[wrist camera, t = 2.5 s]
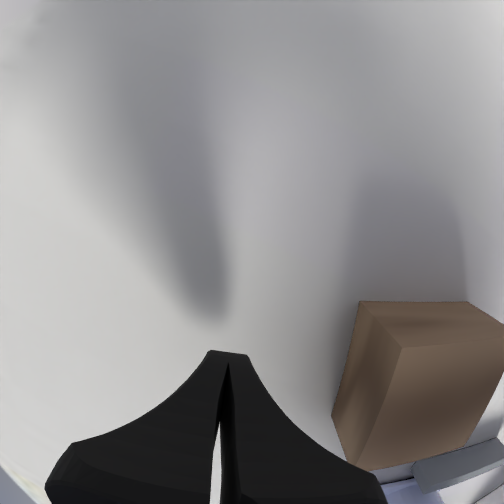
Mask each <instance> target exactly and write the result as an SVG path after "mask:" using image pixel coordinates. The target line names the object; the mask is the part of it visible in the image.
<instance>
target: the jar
mask: <svg viewBox="0 0 504 504" xmlns="http://www.w3.org/2000/svg"><path fill="white" fill-rule="evenodd" d="M503 503H504V484H503V485H501V486H500V487H498V488H497V489H496V490H494V491H493V492H491V493H490V494H488V495H487V496H485V497H484V498H482V499H480V500H479V501H477V502H476V503H475V504H503Z"/></svg>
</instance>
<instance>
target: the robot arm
mask: <svg viewBox="0 0 504 504" xmlns="http://www.w3.org/2000/svg"><path fill="white" fill-rule="evenodd" d="M219 423H220V442H221V469H222V477H221V495H220V504H444V502H443V500H442V498H441V496H440V495H439V493H438V492H439V491H440V490H437V491H434V492H431V493H427V494H424V495H423V493H422V491H421V489H420V487H419V485H418V483H417V482H416V480H415V478H413V479H409V480H404V481H400V482H395V483H389V484H384V485H380V484H379V482H378V480H377V478H376V476H375V475H374V474H372V473H369V472H367V471H365V470H363V469H361V468H359V467H356V466H354V465H352V464H350V463H348V462H346V461H344V460H342V459H341V458H339V457H338V456H336V455H334V454H333V453H331V452H329V451H328V450H326V449H325V448H323V447H322V446H321V445H319V444H318V443H316V442H315V441H314V440H313V439H311V438H310V437H309V436H308V435H306V434H305V433H304V432H303V431H302V430H300V429H299V428H298V427H297V426H296V425H295V424H294V423H293V422H292V421H291V420H290V419H289V418H288V417H287V416H286V415H285V413H284V412H283V411H282V410H281V409H280V408H279V406H278V405H277V404H276V402H275V401H274V400H273V398H272V397H271V396H270V394H269V393H268V391H267V390H266V388H265V387H264V385H263V384H262V382H261V380H260V379H259V377H258V375H257V373H256V371H255V369H254V368H253V365H252V363H251V361H250V359H249V357H248V356H247V355H245V354H237V353H230V352H222V351H215V350H210V351H208V352H207V354H206V356H205V358H204V359H203V361H202V362H201V364H200V365H199V366H198V368H197V369H196V370H195V371H194V372H193V373H192V375H191V376H190V377H189V378H188V379H187V380H186V381H185V382H184V383H183V384H182V385H181V386H180V387H179V388H178V389H177V390H176V391H175V392H174V393H173V394H172V395H171V396H169V397H168V398H167V399H166V400H165V401H163V402H162V403H161V404H159V405H158V406H157V407H155V408H154V409H152V410H151V411H149V412H147V413H146V414H144V415H143V416H141V417H139V418H138V419H136V420H134V421H132V422H130V423H128V424H126V425H124V426H122V427H120V428H117V429H115V430H113V431H111V432H108V433H105V434H103V435H99V436H96V437H93V438H89V439H86V440H82V441H78V442H74V443H71V445H70V446H69V447H68V449H67V450H66V451H65V452H64V453H63V455H62V456H61V457H60V459H59V460H58V461H57V463H56V465H55V467H54V468H53V470H52V472H51V474H50V476H49V478H48V479H47V481H46V483H45V491H46V493H47V496H48V498H49V500H50V501H51V503H52V504H210V492H211V475H212V460H213V450H214V446H215V441H216V437H217V432H218V427H219ZM503 504H504V503H503Z"/></svg>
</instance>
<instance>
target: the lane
mask: <svg viewBox="0 0 504 504" xmlns="http://www.w3.org/2000/svg"><path fill="white" fill-rule="evenodd" d="M503 464H504V445H503V444H502V443H501V442H500V440H499V439H498V438H494V439H491V440H489V441H486V442H483V443H480V444H477V445H474V446H471V447H468V448H464V449H461V450H457V451H454V452H450V453H447V454H443V455H439V456H435V457H431V458H426V459H422V460H418V461H416V462H415V464H414V465H413V467H412V468H411V469H410V470H411V472H412V474H413V476H414V478H415V480H416V482H417V483H418V485H419V487H420V489H421V491H422V493H423V495H424V494H427V493H431V492H434V491H437V490H440V489H443V488H446V487H449V486H452V485H455V484H458V483H460V482H463V481H466V480H468V479H471V478H473V477H476V476H478V475H481V474H483V473H485V472H488V471H490V470H492V469H494V468H497V467H499V466H501V465H503Z"/></svg>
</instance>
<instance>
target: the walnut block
mask: <svg viewBox="0 0 504 504" xmlns="http://www.w3.org/2000/svg"><path fill="white" fill-rule="evenodd" d="M503 372H504V324H502V323H500V322H499V321H497V320H496V319H494V318H493V317H491V316H490V315H488V314H486V313H485V312H483V311H482V310H480V309H478V308H477V307H475V306H474V305H472V304H470V303H469V302H379V301H359V306H358V311H357V316H356V321H355V326H354V330H353V335H352V339H351V344H350V348H349V352H348V356H347V360H346V364H345V368H344V372H343V376H342V380H341V383H340V387H339V390H338V394H337V398H336V401H335V404H334V408H333V411H332V414H331V417H332V419H333V422H334V425H335V428H336V431H337V434H338V436H339V439H340V442H341V445H342V448H343V451H344V454H345V457H346V459H347V462H348V463H350V464H352V465H354V466H356V467H359V468H361V469H363V470H365V471H372V470H378V469H383V468H388V467H393V466H397V465H402V464H406V463H410V462H414V461H418V460H422V459H425V458H429V457H432V456H436V455H439V454H442V453H445V452H449V451H452V450H455V449H458V448H460V447H463V446H464V445H465V444H466V442H467V440H468V439H469V437H470V436H471V434H472V432H473V431H474V429H475V427H476V425H477V424H478V422H479V420H480V418H481V417H482V415H483V413H484V411H485V409H486V407H487V405H488V403H489V402H490V400H491V398H492V396H493V394H494V392H495V389H496V387H497V385H498V383H499V381H500V379H501V377H502V374H503Z"/></svg>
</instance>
